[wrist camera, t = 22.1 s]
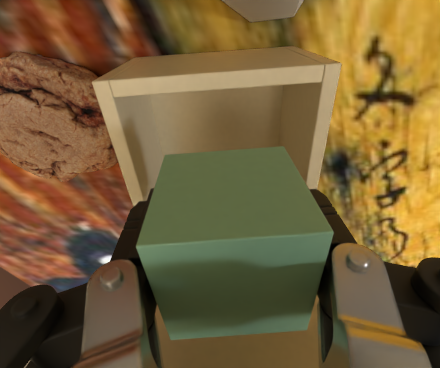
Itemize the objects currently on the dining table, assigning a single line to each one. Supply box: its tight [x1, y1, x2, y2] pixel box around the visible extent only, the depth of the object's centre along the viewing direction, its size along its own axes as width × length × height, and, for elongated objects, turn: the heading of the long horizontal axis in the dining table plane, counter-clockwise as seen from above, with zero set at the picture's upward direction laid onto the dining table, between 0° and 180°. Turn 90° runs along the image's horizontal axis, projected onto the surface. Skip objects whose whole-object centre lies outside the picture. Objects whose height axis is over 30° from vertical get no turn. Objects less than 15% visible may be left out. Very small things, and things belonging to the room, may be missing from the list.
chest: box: [92, 46, 341, 207], centre depth 18 cm, size 13×12×8 cm
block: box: [136, 146, 334, 340], centre depth 9 cm, size 5×5×5 cm
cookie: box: [0, 52, 118, 182], centre depth 19 cm, size 10×11×3 cm
